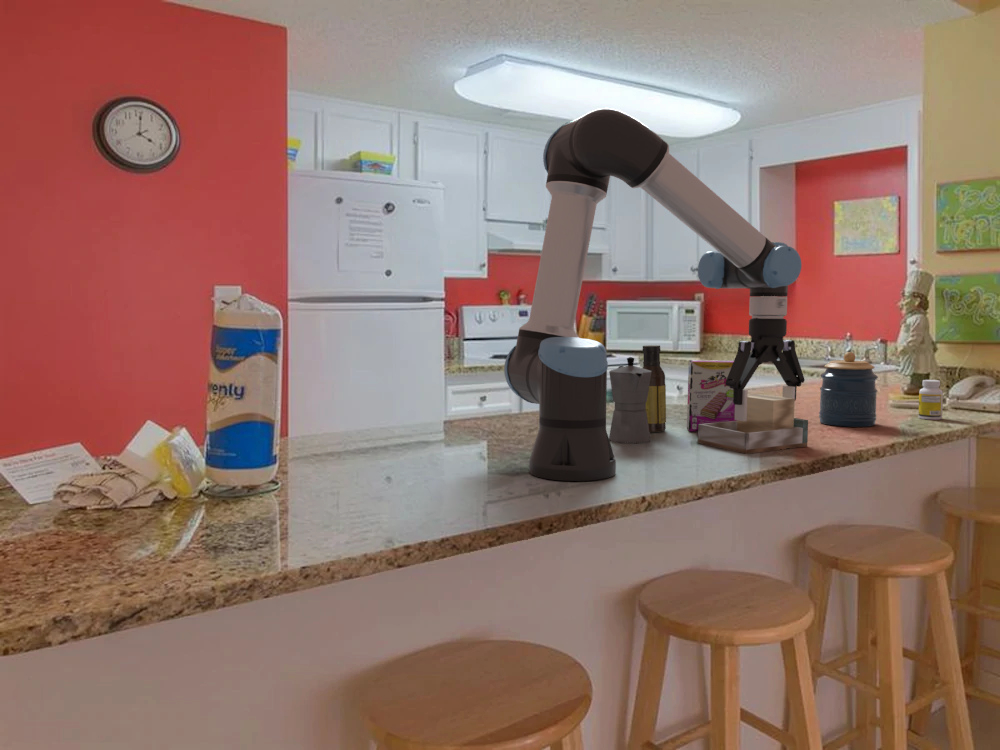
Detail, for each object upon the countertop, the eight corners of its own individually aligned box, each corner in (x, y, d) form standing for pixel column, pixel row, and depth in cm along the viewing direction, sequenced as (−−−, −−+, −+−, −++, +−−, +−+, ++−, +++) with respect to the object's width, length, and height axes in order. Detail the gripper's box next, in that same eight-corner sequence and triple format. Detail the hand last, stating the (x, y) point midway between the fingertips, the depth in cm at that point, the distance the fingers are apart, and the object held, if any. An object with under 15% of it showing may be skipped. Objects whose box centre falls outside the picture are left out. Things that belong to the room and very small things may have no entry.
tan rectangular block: (772, 444, 167) (773, 400, 166) (736, 437, 176) (737, 395, 175) (793, 441, 170) (794, 398, 169) (757, 435, 178) (758, 394, 178)
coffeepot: (660, 444, 171) (662, 359, 170) (616, 445, 170) (617, 359, 169) (638, 433, 187) (639, 354, 185) (598, 434, 185) (598, 354, 184)
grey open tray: (746, 453, 161) (746, 426, 161) (697, 442, 173) (698, 417, 173) (807, 446, 169) (808, 420, 168) (756, 436, 181) (757, 412, 181)
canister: (808, 420, 206) (810, 350, 204) (854, 419, 208) (857, 350, 207) (838, 428, 193) (841, 354, 191) (887, 426, 195) (890, 353, 194)
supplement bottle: (923, 416, 213) (925, 379, 212) (945, 418, 209) (947, 380, 208) (914, 418, 210) (916, 380, 209) (936, 420, 205) (938, 381, 204)
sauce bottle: (659, 428, 194) (661, 344, 192) (670, 432, 188) (671, 345, 186) (634, 429, 193) (635, 344, 191) (643, 433, 186) (644, 346, 185)
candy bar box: (688, 432, 188) (690, 361, 186) (686, 429, 193) (687, 359, 191) (738, 433, 186) (740, 361, 185) (734, 429, 191) (736, 359, 190)
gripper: (736, 318, 161) (732, 424, 163) (824, 317, 173) (820, 416, 175) (709, 317, 168) (707, 419, 170) (796, 316, 180) (793, 412, 181)
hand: (764, 418), depth 172 cm, fingers open, 13 cm apart
